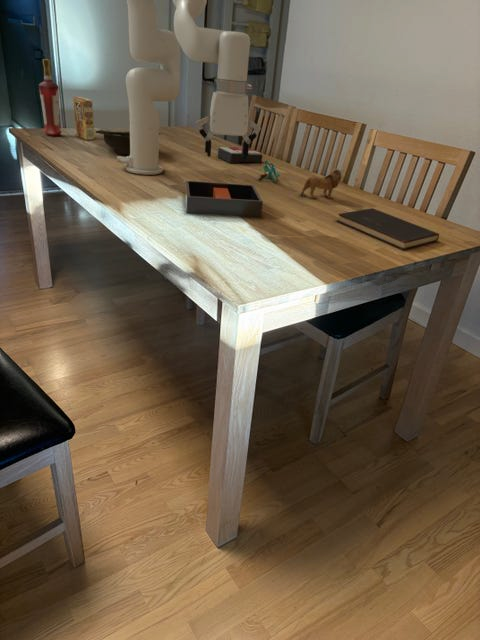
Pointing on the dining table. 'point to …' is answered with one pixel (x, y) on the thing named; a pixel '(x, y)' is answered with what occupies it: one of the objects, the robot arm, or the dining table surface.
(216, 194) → the orange rectangular block
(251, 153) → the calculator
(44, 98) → the liquor
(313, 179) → the lion figurine
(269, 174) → the stick construction toy
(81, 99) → the candy box
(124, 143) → the stone bowl
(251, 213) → the tray
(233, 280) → the dining table surface
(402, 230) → the hardcover book
